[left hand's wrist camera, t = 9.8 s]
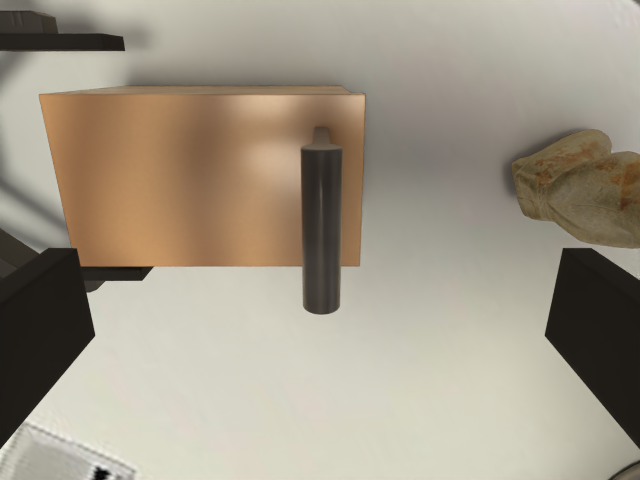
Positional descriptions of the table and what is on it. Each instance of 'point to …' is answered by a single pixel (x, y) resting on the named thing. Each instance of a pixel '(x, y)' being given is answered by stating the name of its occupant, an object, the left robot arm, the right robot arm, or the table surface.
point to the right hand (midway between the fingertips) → (133, 164)
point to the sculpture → (583, 189)
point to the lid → (213, 180)
